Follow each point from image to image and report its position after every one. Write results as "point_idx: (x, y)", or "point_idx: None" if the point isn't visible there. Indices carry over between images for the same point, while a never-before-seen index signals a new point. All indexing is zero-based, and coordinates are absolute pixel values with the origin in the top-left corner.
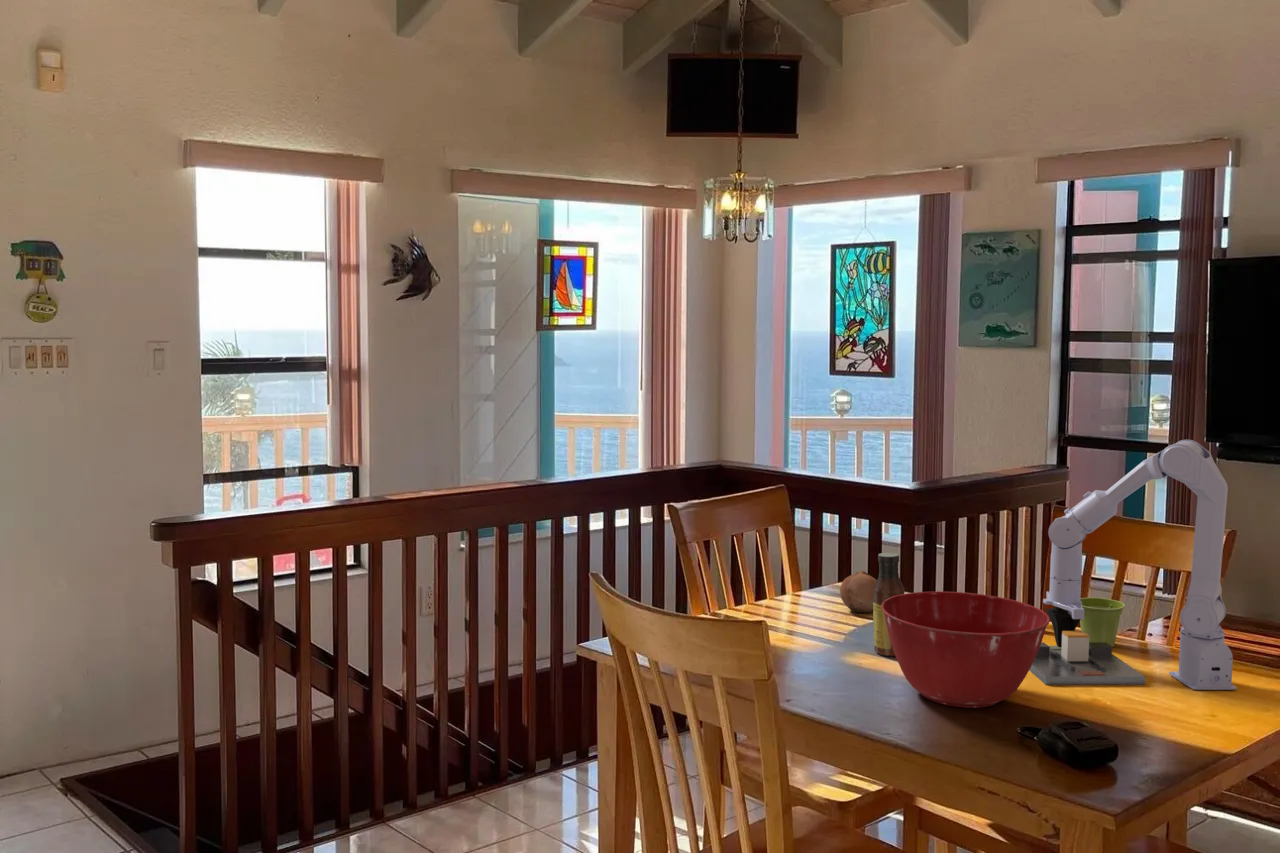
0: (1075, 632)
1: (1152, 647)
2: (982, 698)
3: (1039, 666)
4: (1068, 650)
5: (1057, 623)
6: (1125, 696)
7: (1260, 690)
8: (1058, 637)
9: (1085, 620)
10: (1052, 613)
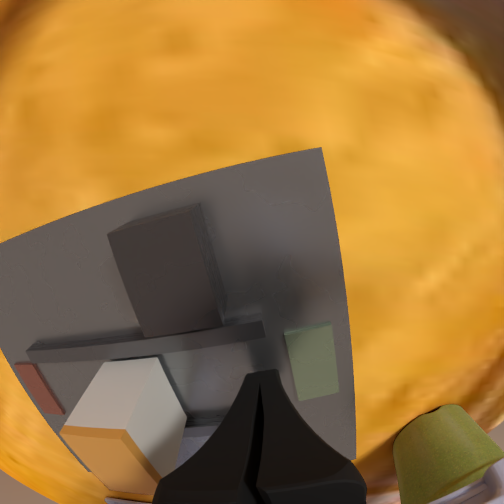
0: (124, 471)
1: (392, 495)
2: None
3: (26, 254)
4: (87, 391)
5: (190, 458)
6: (6, 399)
7: None
8: (233, 402)
9: (444, 470)
10: (190, 495)
